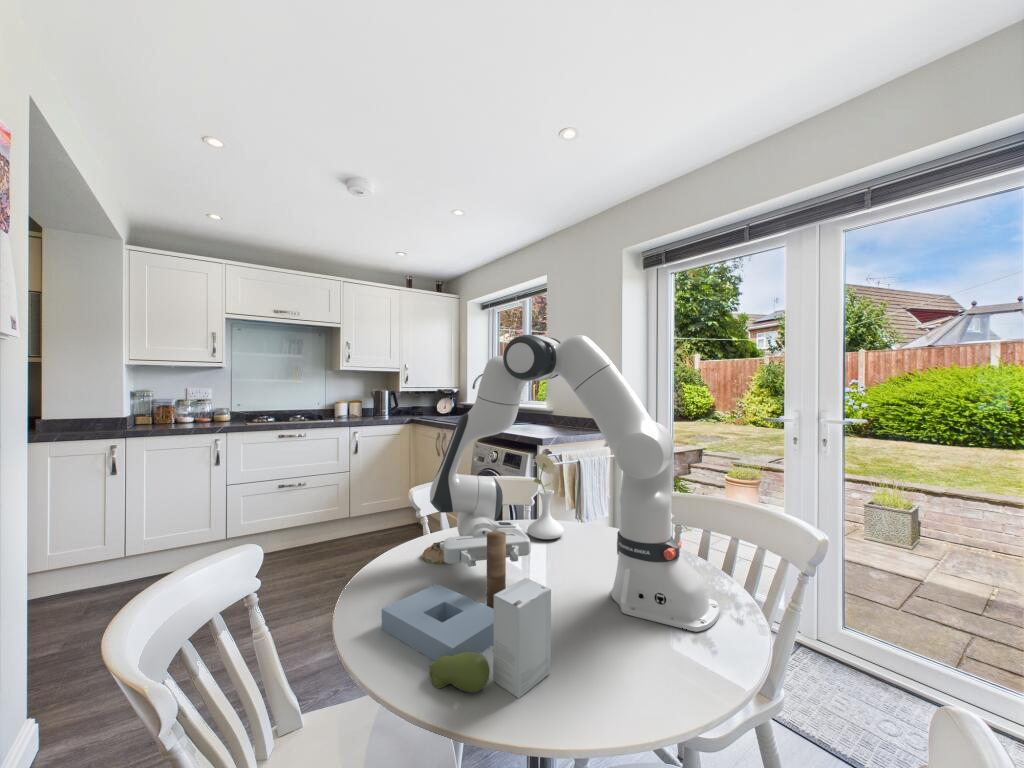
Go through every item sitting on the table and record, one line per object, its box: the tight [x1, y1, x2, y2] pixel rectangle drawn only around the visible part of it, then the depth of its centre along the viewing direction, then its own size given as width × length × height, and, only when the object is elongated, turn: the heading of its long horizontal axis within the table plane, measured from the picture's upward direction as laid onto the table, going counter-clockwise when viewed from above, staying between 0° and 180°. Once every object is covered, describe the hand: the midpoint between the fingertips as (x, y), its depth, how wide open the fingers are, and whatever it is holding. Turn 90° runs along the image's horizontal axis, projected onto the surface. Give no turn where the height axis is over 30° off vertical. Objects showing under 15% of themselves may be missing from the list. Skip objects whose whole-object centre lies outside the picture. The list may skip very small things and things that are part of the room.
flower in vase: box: [526, 453, 565, 540], centre depth 142 cm, size 13×11×25 cm
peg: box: [486, 531, 507, 609], centre depth 97 cm, size 4×4×16 cm
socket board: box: [381, 583, 494, 662], centre depth 89 cm, size 20×14×4 cm
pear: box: [428, 652, 490, 694], centre depth 74 cm, size 6×5×10 cm
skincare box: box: [492, 577, 552, 699], centre depth 75 cm, size 8×6×15 cm
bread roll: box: [421, 539, 446, 565], centre depth 125 cm, size 11×11×5 cm
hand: (494, 560), depth 100 cm, fingers open, 8 cm apart
